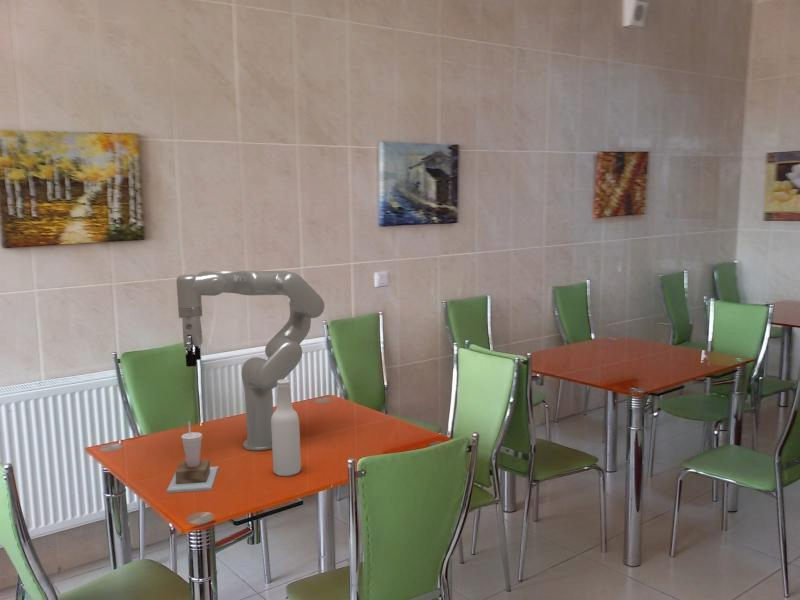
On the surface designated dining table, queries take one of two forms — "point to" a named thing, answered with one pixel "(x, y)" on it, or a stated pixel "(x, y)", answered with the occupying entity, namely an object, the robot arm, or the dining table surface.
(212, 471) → the base
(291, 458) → the alcohol
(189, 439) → the smoothie
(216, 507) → the dining table surface
